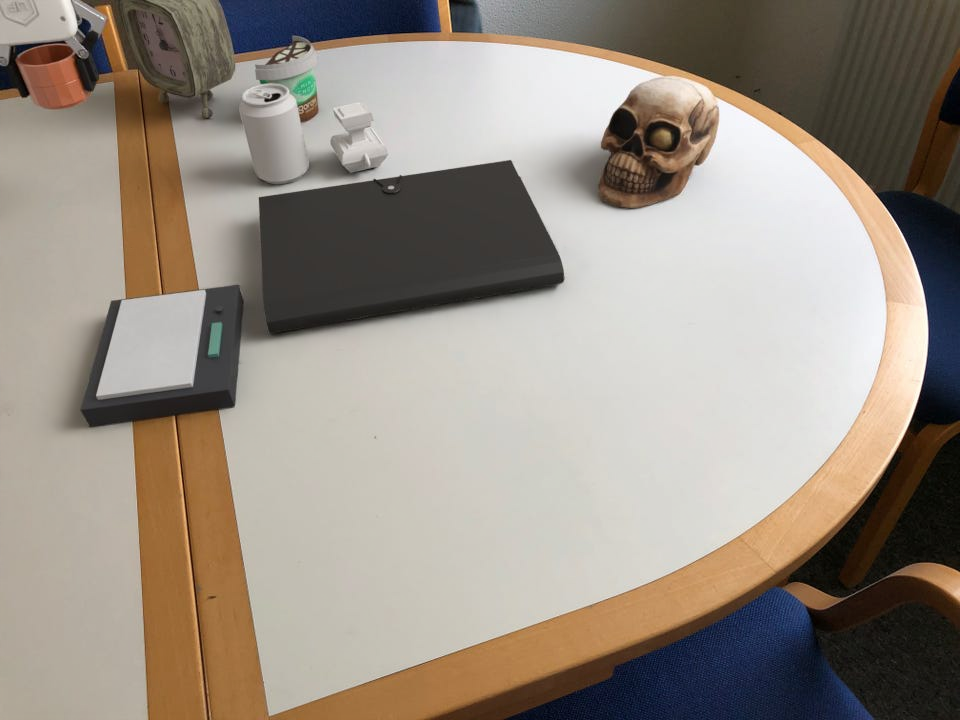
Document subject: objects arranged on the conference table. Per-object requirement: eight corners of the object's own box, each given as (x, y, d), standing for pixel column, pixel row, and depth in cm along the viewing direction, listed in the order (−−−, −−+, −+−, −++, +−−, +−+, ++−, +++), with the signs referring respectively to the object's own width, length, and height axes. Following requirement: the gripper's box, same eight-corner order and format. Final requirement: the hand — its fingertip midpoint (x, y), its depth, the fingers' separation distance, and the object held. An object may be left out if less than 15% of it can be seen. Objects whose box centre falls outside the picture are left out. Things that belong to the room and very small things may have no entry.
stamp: (393, 173, 111) (386, 117, 105) (347, 184, 109) (338, 128, 103) (374, 145, 117) (366, 90, 111) (330, 155, 115) (320, 100, 109)
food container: (303, 134, 120) (290, 70, 113) (268, 129, 122) (253, 66, 115) (339, 99, 129) (329, 37, 122) (305, 95, 130) (293, 34, 123)
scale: (89, 427, 77) (77, 405, 75) (118, 317, 90) (108, 296, 88) (235, 407, 79) (227, 385, 77) (244, 301, 91) (237, 280, 89)
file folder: (510, 156, 105) (564, 263, 88) (510, 183, 108) (563, 292, 91) (257, 193, 100) (263, 314, 83) (264, 221, 103) (271, 342, 86)
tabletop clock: (149, 104, 130) (93, -63, 113) (192, 84, 135) (145, -79, 118) (208, 125, 124) (158, -48, 107) (251, 103, 129) (210, -66, 112)
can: (293, 190, 108) (274, 107, 100) (246, 182, 110) (224, 100, 102) (319, 164, 113) (304, 83, 105) (274, 157, 116) (255, 77, 107)
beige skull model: (599, 207, 102) (610, 104, 94) (593, 154, 116) (602, 61, 108) (722, 212, 101) (744, 109, 93) (701, 158, 115) (719, 64, 107)
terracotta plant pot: (28, 113, 95) (8, 68, 91) (41, 90, 100) (23, 46, 96) (87, 108, 96) (70, 63, 92) (97, 84, 101) (81, 41, 97)
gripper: (-103, -54, 81) (-24, 110, 93) (74, -67, 83) (129, 96, 95) (-78, -74, 87) (-6, 84, 99) (87, -86, 89) (138, 71, 101)
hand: (59, 89), depth 97 cm, fingers closed on terracotta plant pot, 6 cm apart
